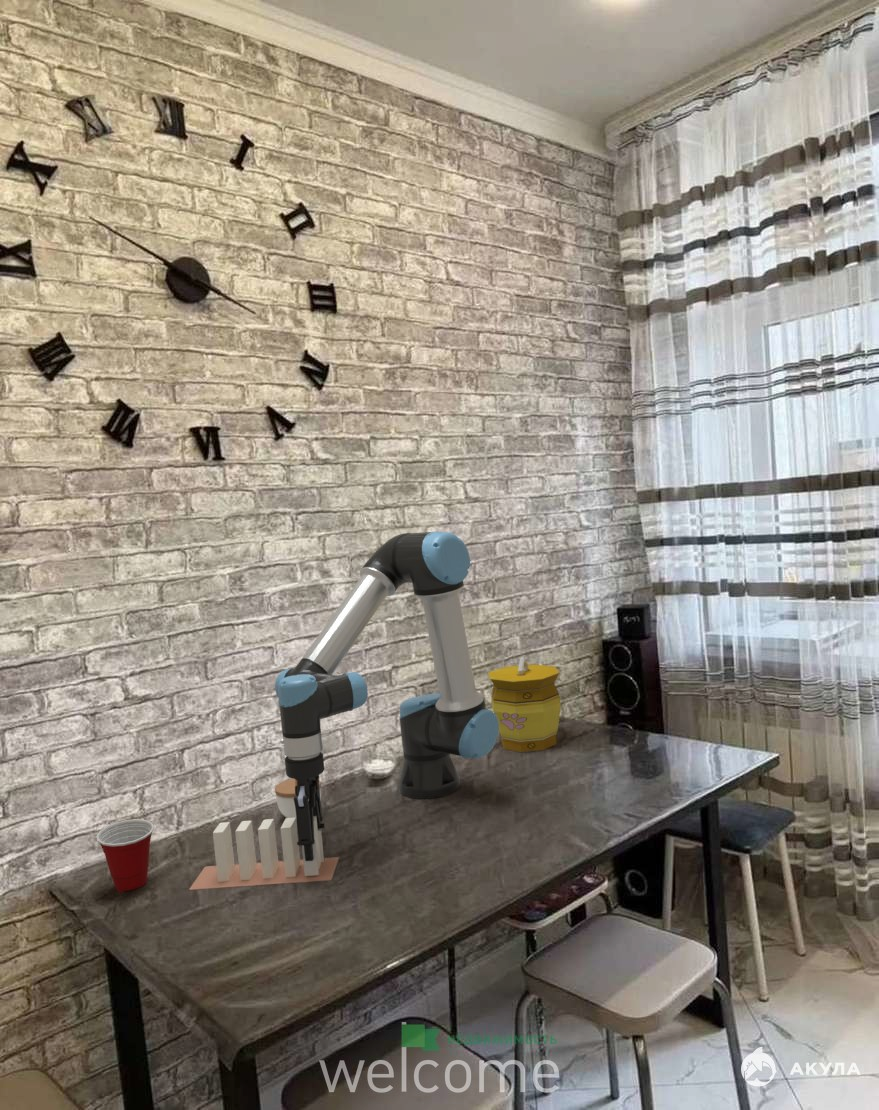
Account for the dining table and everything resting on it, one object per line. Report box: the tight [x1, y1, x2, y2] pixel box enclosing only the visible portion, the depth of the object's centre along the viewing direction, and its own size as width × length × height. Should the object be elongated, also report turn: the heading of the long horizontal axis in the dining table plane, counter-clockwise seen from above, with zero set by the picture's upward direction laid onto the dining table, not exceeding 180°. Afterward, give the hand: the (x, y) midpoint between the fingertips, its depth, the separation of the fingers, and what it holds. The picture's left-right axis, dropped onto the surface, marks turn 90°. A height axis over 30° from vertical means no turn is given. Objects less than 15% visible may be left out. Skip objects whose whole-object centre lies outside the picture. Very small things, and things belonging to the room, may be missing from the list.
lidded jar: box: [274, 778, 322, 823], centre depth 196 cm, size 11×11×9 cm
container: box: [487, 656, 562, 753], centre depth 236 cm, size 21×21×25 cm
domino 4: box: [280, 817, 301, 877], centre depth 166 cm, size 2×5×10 cm, turn 178°
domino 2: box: [234, 820, 257, 880], centre depth 166 cm, size 2×5×10 cm, turn 178°
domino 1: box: [212, 821, 235, 882], centre depth 166 cm, size 2×5×10 cm, turn 178°
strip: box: [188, 856, 340, 891], centre depth 166 cm, size 28×10×1 cm, turn 88°
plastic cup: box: [95, 818, 155, 894], centre depth 166 cm, size 11×11×12 cm
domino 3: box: [257, 818, 279, 879], centre depth 166 cm, size 2×5×10 cm, turn 178°
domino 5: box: [312, 816, 321, 876], centre depth 165 cm, size 2×5×10 cm, turn 178°
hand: (314, 867), depth 166 cm, fingers closed on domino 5, 5 cm apart
